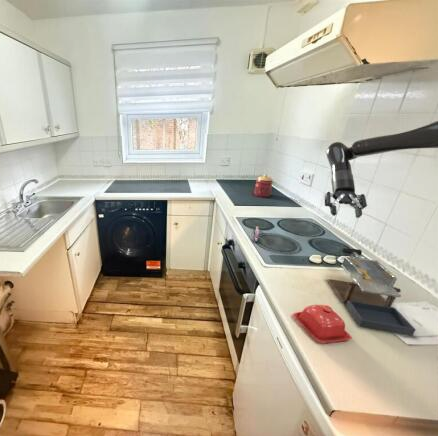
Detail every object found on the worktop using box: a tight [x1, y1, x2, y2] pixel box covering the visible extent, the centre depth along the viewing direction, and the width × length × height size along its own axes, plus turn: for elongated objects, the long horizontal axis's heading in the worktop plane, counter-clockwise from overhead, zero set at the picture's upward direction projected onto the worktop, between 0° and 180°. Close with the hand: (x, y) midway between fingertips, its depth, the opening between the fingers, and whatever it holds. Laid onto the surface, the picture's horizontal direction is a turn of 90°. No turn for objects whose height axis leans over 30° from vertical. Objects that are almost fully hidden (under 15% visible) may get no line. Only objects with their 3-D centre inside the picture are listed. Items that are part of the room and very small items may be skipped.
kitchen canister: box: [253, 174, 274, 198], centre depth 197 cm, size 13×13×18 cm
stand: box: [327, 278, 402, 307], centre depth 85 cm, size 13×14×9 cm
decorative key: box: [253, 225, 260, 243], centre depth 130 cm, size 7×1×20 cm
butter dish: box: [292, 304, 353, 344], centre depth 71 cm, size 12×12×8 cm
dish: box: [341, 247, 402, 298], centre depth 84 cm, size 22×10×5 cm, turn 164°
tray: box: [345, 300, 416, 337], centre depth 76 cm, size 13×9×2 cm
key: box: [359, 269, 371, 280], centre depth 84 cm, size 6×3×1 cm, turn 164°
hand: (346, 216), depth 99 cm, fingers open, 8 cm apart
